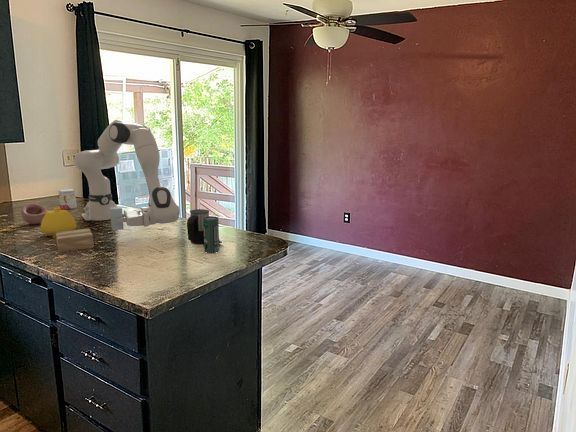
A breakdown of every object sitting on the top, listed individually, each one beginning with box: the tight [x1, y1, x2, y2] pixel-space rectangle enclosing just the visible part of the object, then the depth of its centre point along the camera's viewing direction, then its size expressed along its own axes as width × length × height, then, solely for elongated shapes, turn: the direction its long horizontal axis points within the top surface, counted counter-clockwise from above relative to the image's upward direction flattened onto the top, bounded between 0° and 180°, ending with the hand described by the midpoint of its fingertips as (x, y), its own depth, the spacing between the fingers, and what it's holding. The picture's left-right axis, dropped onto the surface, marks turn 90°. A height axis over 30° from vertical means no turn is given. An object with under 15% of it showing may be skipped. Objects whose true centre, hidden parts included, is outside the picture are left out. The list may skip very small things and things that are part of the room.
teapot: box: [40, 206, 78, 239], centre depth 214 cm, size 20×16×14 cm
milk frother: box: [186, 208, 223, 245], centre depth 201 cm, size 14×16×15 cm
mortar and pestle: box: [20, 203, 47, 225], centre depth 234 cm, size 12×12×12 cm
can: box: [203, 215, 220, 254], centre depth 189 cm, size 6×6×15 cm
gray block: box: [110, 206, 124, 231], centre depth 205 cm, size 5×5×10 cm
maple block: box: [55, 228, 95, 253], centre depth 196 cm, size 14×14×6 cm
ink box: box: [58, 188, 78, 210], centre depth 274 cm, size 9×5×12 cm, turn 138°
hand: (114, 218), depth 204 cm, fingers closed on gray block, 5 cm apart
